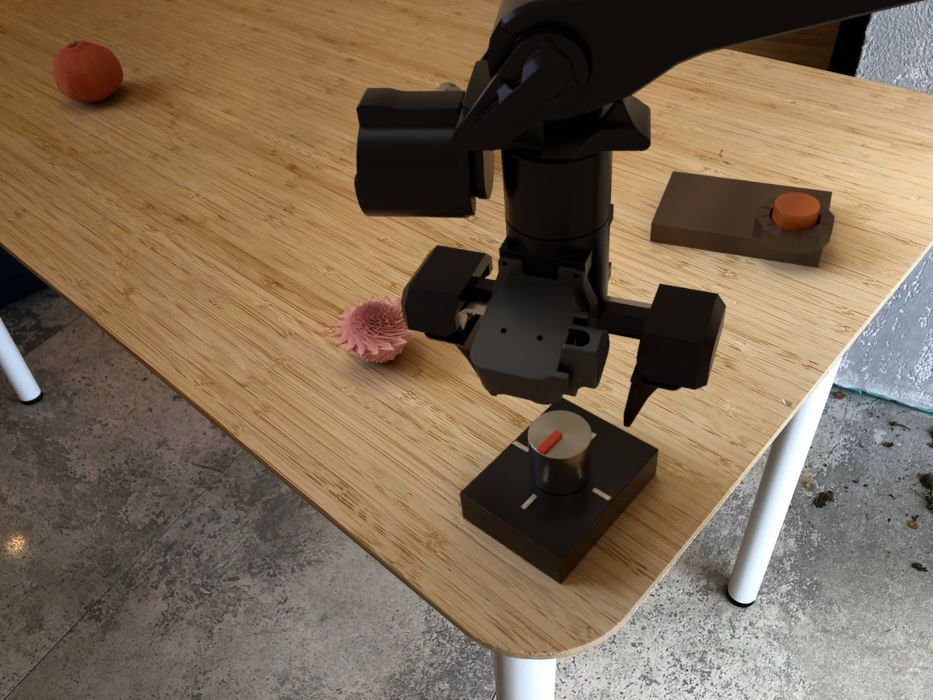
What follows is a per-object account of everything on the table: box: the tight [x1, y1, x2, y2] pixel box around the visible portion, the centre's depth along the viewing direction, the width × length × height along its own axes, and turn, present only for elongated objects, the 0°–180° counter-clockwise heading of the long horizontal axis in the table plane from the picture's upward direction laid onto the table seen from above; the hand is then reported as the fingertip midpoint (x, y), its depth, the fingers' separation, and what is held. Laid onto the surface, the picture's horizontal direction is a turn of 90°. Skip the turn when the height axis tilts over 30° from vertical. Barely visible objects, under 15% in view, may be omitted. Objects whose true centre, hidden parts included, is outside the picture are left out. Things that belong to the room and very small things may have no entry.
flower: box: [328, 294, 418, 364], centre depth 75 cm, size 8×8×6 cm
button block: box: [649, 170, 836, 268], centre depth 84 cm, size 16×12×4 cm
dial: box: [528, 411, 592, 495], centre depth 60 cm, size 4×4×4 cm
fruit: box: [51, 39, 124, 103], centre depth 118 cm, size 9×9×8 cm
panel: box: [459, 397, 660, 585], centre depth 62 cm, size 12×9×3 cm
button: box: [772, 192, 820, 231], centre depth 79 cm, size 4×4×2 cm
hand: (560, 406), depth 57 cm, fingers open, 9 cm apart
